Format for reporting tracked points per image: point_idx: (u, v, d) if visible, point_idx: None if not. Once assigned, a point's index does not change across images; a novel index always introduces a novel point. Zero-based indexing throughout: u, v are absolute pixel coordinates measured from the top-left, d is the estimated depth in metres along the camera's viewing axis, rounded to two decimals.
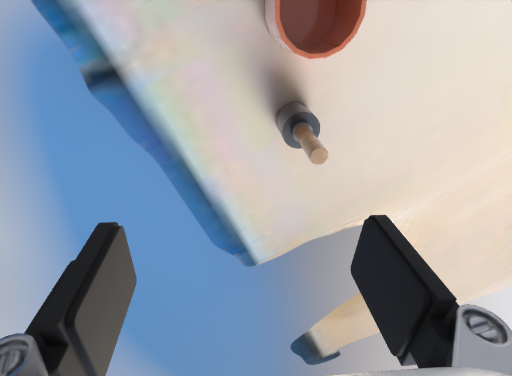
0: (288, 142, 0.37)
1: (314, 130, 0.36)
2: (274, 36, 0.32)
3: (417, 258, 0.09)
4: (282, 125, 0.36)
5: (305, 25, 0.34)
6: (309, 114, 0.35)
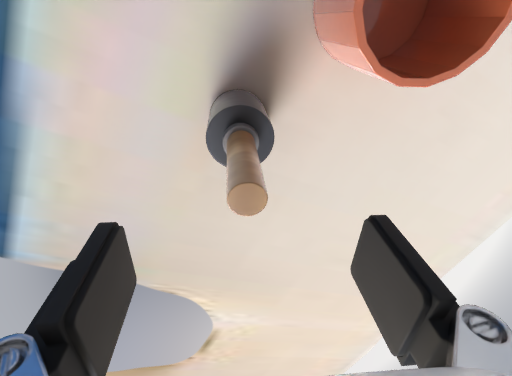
0: (209, 137, 0.20)
1: None
2: None
3: (417, 258, 0.09)
4: (223, 106, 0.20)
5: None
6: (270, 129, 0.20)
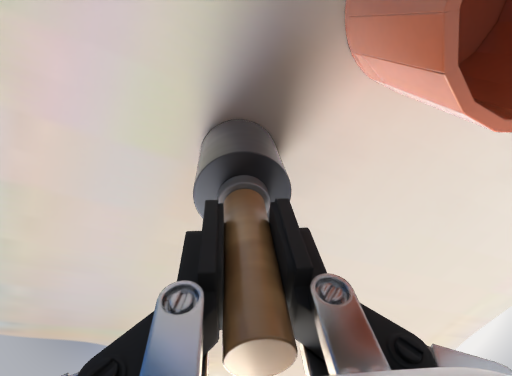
0: (198, 194, 0.14)
1: None
2: None
3: (296, 234, 0.09)
4: (219, 152, 0.13)
5: None
6: (286, 182, 0.14)
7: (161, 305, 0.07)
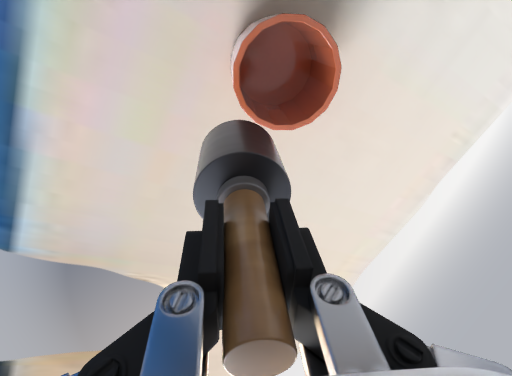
0: (198, 195, 0.14)
1: None
2: (232, 57, 0.26)
3: (296, 234, 0.09)
4: (218, 152, 0.13)
5: (264, 81, 0.30)
6: (286, 183, 0.14)
7: (161, 305, 0.07)
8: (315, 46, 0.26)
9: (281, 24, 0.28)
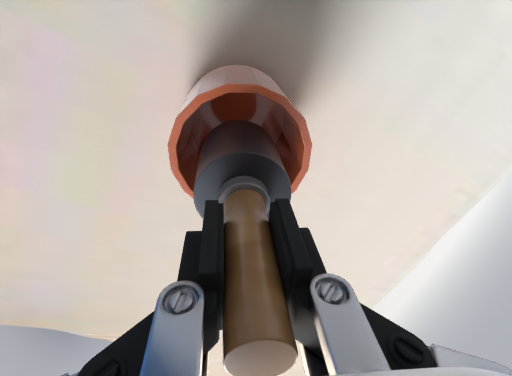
0: (198, 195, 0.14)
1: None
2: None
3: (296, 234, 0.09)
4: (219, 152, 0.13)
5: None
6: (286, 183, 0.14)
7: (161, 305, 0.07)
8: None
9: None
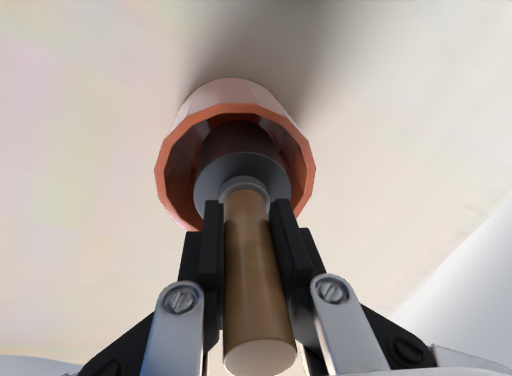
0: (198, 195, 0.14)
1: None
2: None
3: (296, 234, 0.09)
4: (219, 152, 0.13)
5: None
6: (286, 183, 0.14)
7: (161, 305, 0.07)
8: None
9: None
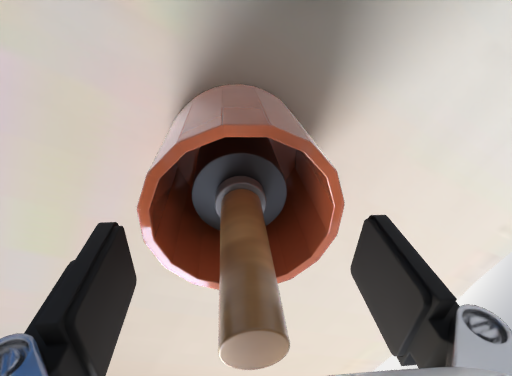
0: (196, 195, 0.14)
1: None
2: None
3: (417, 258, 0.09)
4: (216, 153, 0.14)
5: None
6: (282, 183, 0.14)
7: None
8: None
9: None
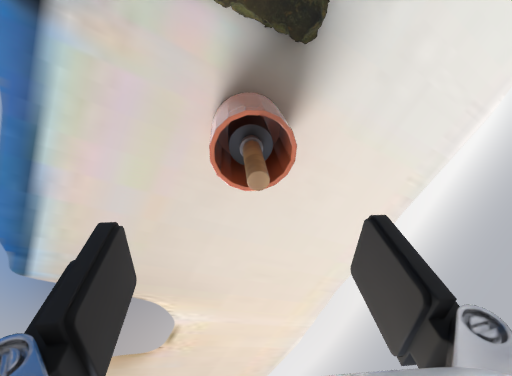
0: (231, 144, 0.31)
1: None
2: (211, 129, 0.32)
3: (417, 258, 0.09)
4: (240, 124, 0.30)
5: None
6: (270, 139, 0.31)
7: None
8: None
9: None
